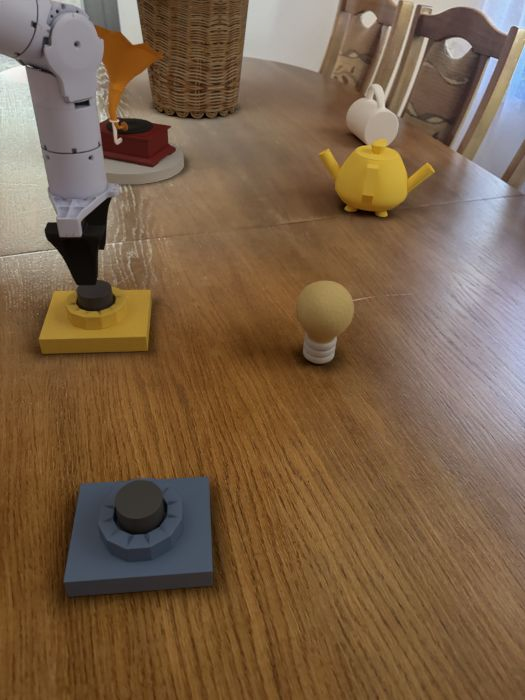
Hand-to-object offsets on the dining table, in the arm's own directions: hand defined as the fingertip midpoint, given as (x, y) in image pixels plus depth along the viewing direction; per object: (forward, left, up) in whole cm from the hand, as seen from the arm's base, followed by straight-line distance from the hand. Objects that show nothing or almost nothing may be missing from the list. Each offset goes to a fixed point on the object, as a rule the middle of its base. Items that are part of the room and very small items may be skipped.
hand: (91, 265), depth 63 cm
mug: (+52, +69, -9) cm, 87 cm away
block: (+7, -30, -9) cm, 32 cm away
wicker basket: (+13, +94, -9) cm, 96 cm away
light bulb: (+26, -7, -9) cm, 28 cm away
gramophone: (0, +54, -9) cm, 55 cm away
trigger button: (0, 0, -5) cm, 5 cm away
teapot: (+43, +35, -9) cm, 56 cm away
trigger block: (0, 0, -9) cm, 9 cm away
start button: (+7, -30, -5) cm, 31 cm away
